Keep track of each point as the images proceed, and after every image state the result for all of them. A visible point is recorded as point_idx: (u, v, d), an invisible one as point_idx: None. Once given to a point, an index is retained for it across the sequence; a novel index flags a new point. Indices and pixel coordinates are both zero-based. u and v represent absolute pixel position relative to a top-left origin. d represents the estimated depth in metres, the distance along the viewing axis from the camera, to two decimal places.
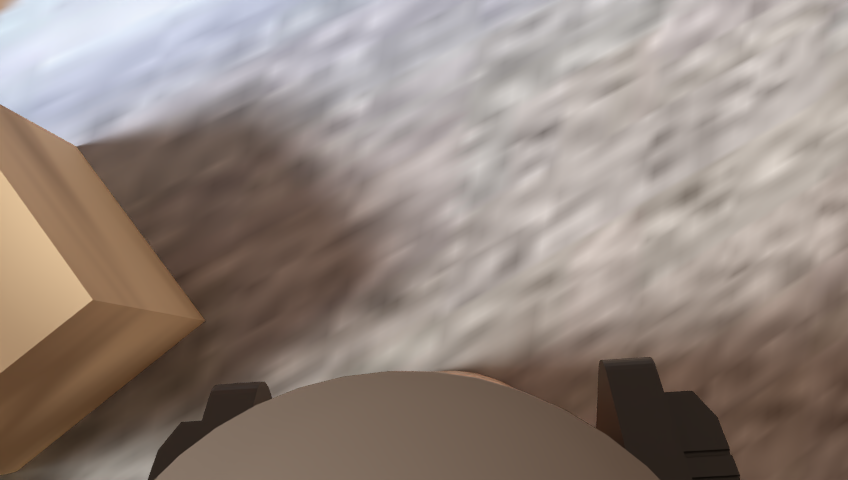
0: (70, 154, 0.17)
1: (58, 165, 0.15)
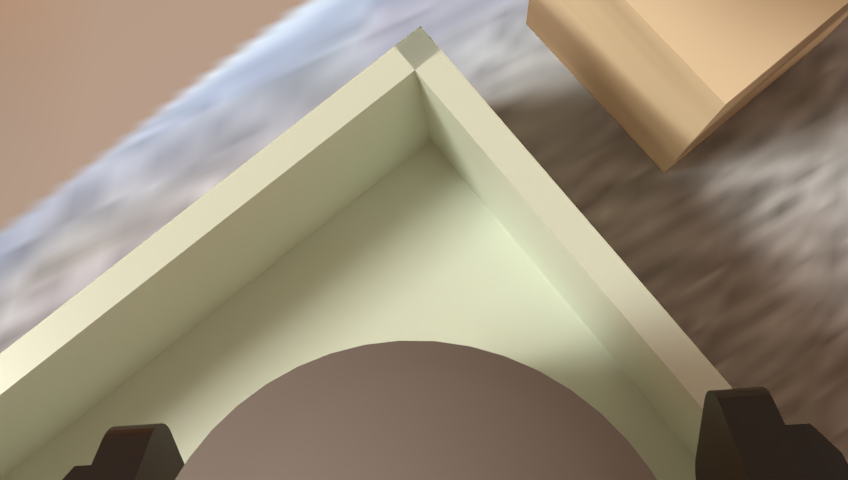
0: None
1: None
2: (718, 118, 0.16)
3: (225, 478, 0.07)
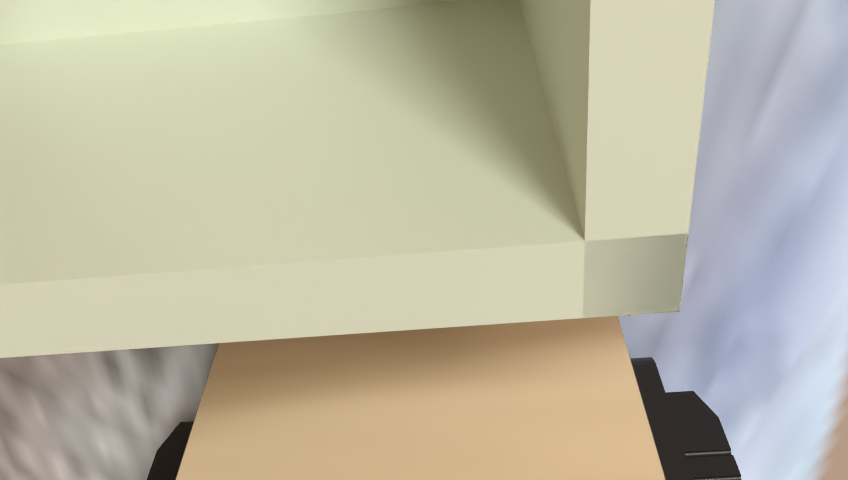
0: None
1: None
2: None
3: None
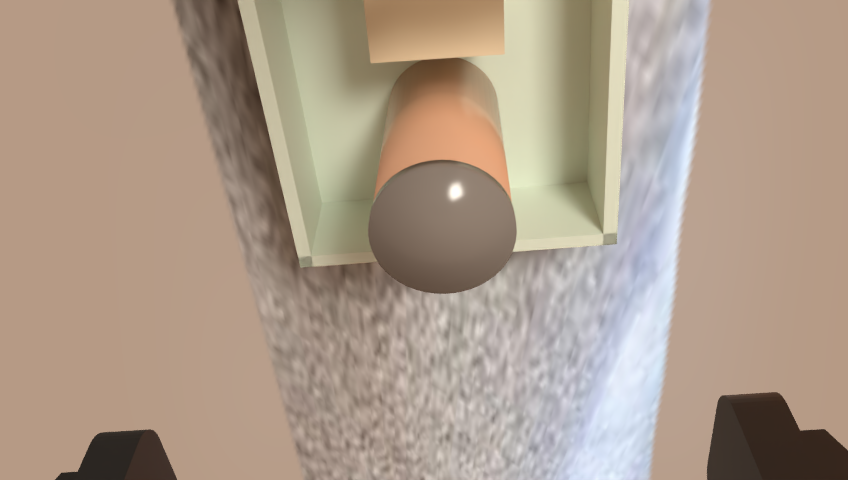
0: None
1: None
2: None
3: (493, 200, 0.27)
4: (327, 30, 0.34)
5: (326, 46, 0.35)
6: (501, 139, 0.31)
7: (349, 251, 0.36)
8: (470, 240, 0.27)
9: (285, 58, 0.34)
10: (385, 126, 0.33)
